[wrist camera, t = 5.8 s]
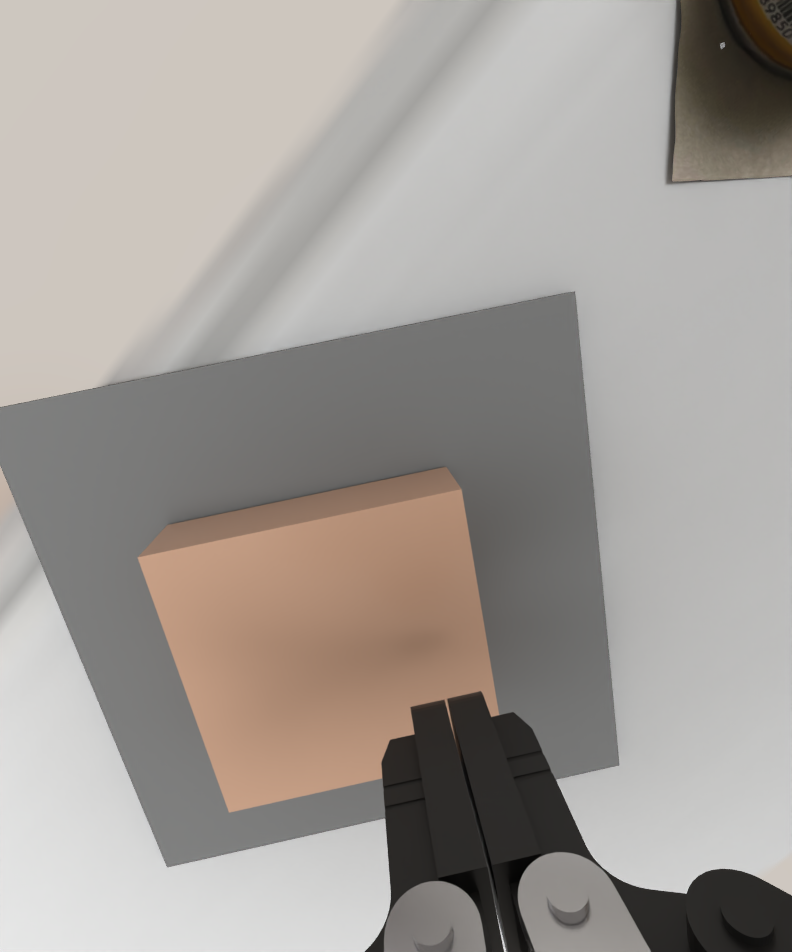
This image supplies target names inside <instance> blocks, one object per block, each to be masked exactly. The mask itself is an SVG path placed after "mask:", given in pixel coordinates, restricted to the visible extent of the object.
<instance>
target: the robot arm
mask: <svg viewBox="0 0 792 952" xmlns="http://www.w3.org/2000/svg"><path fill="white" fill-rule="evenodd" d="M447 701H448V707H449V712H450V717H451V722H452V727H453V731H452V727H451V723H450V719H449V715H448V711H447V707H446V703H445V700H439V701H435V702H430V703H426V704H421V705H417V706H412V707H410V708H411V715H412V721H413V727H414V733H415V734H414V735H409V736H405V737H400V738H396V739H391V740H390V741H389V744H388V746H387V749H386V751H385V754H384V757H383V759H382V762H381V766H382V779H383V789H384V791H383V792H384V806H385V819H386V832H387V845H388V859H389V872H390V885H391V903H390V909H389V913H388V916H387V919H386V922H385V924H384V926H383V928H382V930H381V932H380V934H379V935H378V937H377V938H376V940H375V941H374V942H373V943H372V945H371V946H370V947H369V948H368V949H367V950H366V951H365V952H504V950H503V945H502V940H501V934H500V929H499V924H498V919H499V923H500V927H501V931H502V935H503V939H504V943H505V947H506V951H507V952H792V896H791V895H790V894H788V893H786V892H784V891H782V890H780V889H779V888H777V887H775V886H773V885H771V884H769V883H767V882H765V881H763V880H762V879H760V878H758V877H756V876H753V875H751V874H748V873H745V872H742V871H737V870H732V869H717V870H711V871H708V872H705V873H703V874H701V875H700V876H698V877H697V878H696V879H695V880H694V881H693V882H692V884H691V885H690V887H689V889H688V892H687V894H683V893H675V892H666V891H658V890H649V889H644V888H639V887H636V886H633V885H630V884H627V883H625V882H623V881H621V880H619V879H617V878H616V877H614V876H612V875H611V874H610V873H608V872H607V871H606V870H605V869H603V868H602V867H601V866H600V865H599V864H598V863H597V862H596V861H595V859H594V858H593V857H592V855H591V854H590V852H589V851H588V849H587V847H586V845H585V843H584V841H583V839H582V836H581V834H580V832H579V830H578V828H577V825H576V823H575V821H574V819H573V817H572V815H571V812H570V810H569V808H568V806H567V804H566V801H565V799H564V797H563V795H562V793H561V790H560V788H559V786H558V784H557V782H556V779H555V777H554V775H553V773H552V772H551V769H550V766H549V764H548V762H547V760H546V758H545V755H543V752H542V749H541V747H540V744H539V742H538V740H537V738H536V736H535V733H534V731H533V729H532V728H531V727H530V726H529V725H528V724H527V723H526V722H524V721H523V720H522V719H521V718H520V717H519V716H518V715H516V714H515V713H514V712H511V713H506V714H502V715H497V716H493V717H491V715H490V712H489V710H488V707H487V704H486V701H485V699H484V696H483V693H482V692H481V691H479V692H474V693H470V694H465V695H461V696H456V697H452V698H447ZM453 732H454V734H453ZM454 737H455V738H454ZM496 911H497V914H496ZM497 915H498V919H497Z"/></svg>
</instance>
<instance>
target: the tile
mask: <svg viewBox="0 0 792 952" xmlns="http://www.w3.org/2000/svg"><path fill="white" fill-rule="evenodd" d="M137 558H138V560H139V563H140V566H141V569H142V571H143V574H144V577H145V580H146V583H147V585H148V588H149V591H150V594H151V597H152V599H153V602H154V605H155V608H156V610H157V613H158V616H159V619H160V622H161V624H162V627H163V630H164V633H165V636H166V638H167V641H168V644H169V647H170V649H171V652H172V655H173V658H174V661H175V663H176V666H177V669H178V672H179V675H180V677H181V680H182V683H183V686H184V689H185V691H186V694H187V697H188V700H189V702H190V705H191V708H192V711H193V714H194V716H195V719H196V722H197V725H198V728H199V730H200V733H201V736H202V739H203V741H204V744H205V747H206V750H207V753H208V755H209V758H210V761H211V764H212V767H213V769H214V772H215V775H216V778H217V781H218V783H219V786H220V789H221V792H222V794H223V797H224V800H225V803H226V806H227V808H228V811H229V813H230V812H234V811H239V810H243V809H248V808H252V807H257V806H261V805H266V804H270V803H274V802H279V801H283V800H288V799H292V798H297V797H301V796H306V795H310V794H315V793H319V792H324V791H328V790H332V789H337V788H341V787H346V786H350V785H355V784H359V783H364V782H368V781H373V780H377V779H382V766H381V762H382V759H383V757H384V754H385V751H386V749H387V746H388V744H389V741H390V740H391V739H396V738H400V737H405V736H409V735H414V734H415V733H414V727H413V721H412V715H411V708H410V707H412V706H417V705H421V704H426V703H430V702H435V701H439V700H445V703H446V707H447V711H448V715H449V719H450V723H451V727H452V722H451V717H450V712H449V707H448V701H447V698H452V697H456V696H461V695H465V694H470V693H474V692H479V691H481V692H482V693H483V696H484V699H485V701H486V704H487V707H488V710H489V712H490V715H491V717H493V716H497V715H499V711H498V705H497V699H496V693H495V687H494V681H493V675H492V669H491V663H490V657H489V651H488V645H487V639H486V633H485V627H484V621H483V615H482V609H481V603H480V597H479V591H478V585H477V579H476V573H475V567H474V561H473V555H472V549H471V543H470V537H469V531H468V525H467V519H466V513H465V507H464V501H463V495H462V489H461V488H460V486H459V485H458V483H457V482H456V480H455V479H454V477H453V476H452V474H451V473H450V471H449V470H448V469H447V467H442V468H437V469H433V470H428V471H423V472H418V473H414V474H409V475H404V476H399V477H394V478H390V479H385V480H380V481H375V482H370V483H366V484H361V485H356V486H351V487H347V488H342V489H337V490H332V491H327V492H323V493H318V494H313V495H308V496H304V497H299V498H294V499H289V500H284V501H280V502H275V503H270V504H265V505H261V506H256V507H251V508H246V509H241V510H237V511H232V512H227V513H222V514H218V515H213V516H208V517H203V518H198V519H194V520H189V521H184V522H179V523H175V524H170V525H167V526H166V527H165V528H164V529H163V530H162V531H161V532H160V533H159V534H158V536H157V537H156V538H155V539H154V540H153V541H152V542H151V543H150V544H149V545H148V547H147V548H146V549H145V550H144V551H143V552H142V553H141V554H140V555H139V556H138V557H137ZM452 731H453V727H452ZM453 734H454V732H453ZM454 738H455V737H454Z"/></svg>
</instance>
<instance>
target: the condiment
mask: <svg viewBox="0 0 792 952" xmlns="http://www.w3.org/2000/svg"><path fill="white" fill-rule="evenodd" d="M680 4H681V35H680V41H679V48H678V70H677V79H676V91H675V147H674V158H673V175H672V181H696V180H703V181H709V180H724V179H743V178H765V177H781V176H792V0H680ZM723 42H725V47H724V48H723V49H721V48H720V43H723Z"/></svg>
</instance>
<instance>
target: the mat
mask: <svg viewBox="0 0 792 952" xmlns="http://www.w3.org/2000/svg"><path fill="white" fill-rule="evenodd" d="M0 466H1V468H2V471H3V473H4V476H5V478H6V480H7V483H8V485H9V488H10V490H11V492H12V495H13V497H14V500H15V502H16V504H17V507H18V509H19V512H20V514H21V516H22V519H23V521H24V524H25V526H26V529H27V531H28V533H29V536H30V538H31V541H32V543H33V545H34V548H35V550H36V553H37V555H38V557H39V560H40V562H41V565H42V567H43V569H44V572H45V574H46V577H47V579H48V581H49V584H50V586H51V589H52V591H53V594H54V596H55V598H56V601H57V603H58V606H59V608H60V610H61V613H62V615H63V618H64V620H65V622H66V625H67V627H68V630H69V632H70V634H71V637H72V639H73V642H74V644H75V646H76V649H77V651H78V654H79V656H80V659H81V661H82V663H83V666H84V668H85V671H86V673H87V675H88V678H89V680H90V683H91V685H92V687H93V690H94V692H95V695H96V697H97V699H98V702H99V704H100V707H101V709H102V711H103V714H104V716H105V719H106V721H107V724H108V726H109V728H110V731H111V733H112V736H113V738H114V740H115V743H116V745H117V748H118V750H119V752H120V755H121V757H122V760H123V762H124V764H125V767H126V769H127V772H128V774H129V776H130V779H131V781H132V784H133V786H134V789H135V791H136V793H137V796H138V798H139V801H140V803H141V805H142V808H143V810H144V813H145V815H146V817H147V820H148V822H149V825H150V827H151V829H152V832H153V834H154V837H155V839H156V841H157V844H158V846H159V849H160V851H161V854H162V856H163V858H164V861H165V863H166V866H167V867H171V866H176V865H180V864H184V863H189V862H193V861H198V860H202V859H206V858H211V857H215V856H220V855H224V854H229V853H233V852H237V851H242V850H246V849H251V848H255V847H260V846H264V845H268V844H273V843H277V842H282V841H286V840H291V839H295V838H299V837H304V836H308V835H313V834H317V833H322V832H326V831H330V830H335V829H339V828H344V827H348V826H352V825H357V824H361V823H366V822H370V821H375V820H379V819H383V818H385V806H384V792H383V791H384V789H383V779H377V780H373V781H368V782H364V783H359V784H355V785H350V786H346V787H341V788H337V789H332V790H328V791H324V792H319V793H315V794H310V795H306V796H301V797H297V798H292V799H288V800H283V801H279V802H274V803H270V804H266V805H261V806H257V807H252V808H248V809H243V810H239V811H234V812H230V813H229V811H228V808H227V806H226V803H225V800H224V797H223V794H222V792H221V789H220V786H219V783H218V781H217V778H216V775H215V772H214V769H213V767H212V764H211V761H210V758H209V755H208V753H207V750H206V747H205V744H204V741H203V739H202V736H201V733H200V730H199V728H198V725H197V722H196V719H195V716H194V714H193V711H192V708H191V705H190V702H189V700H188V697H187V694H186V691H185V689H184V686H183V683H182V680H181V677H180V675H179V672H178V669H177V666H176V663H175V661H174V658H173V655H172V652H171V649H170V647H169V644H168V641H167V638H166V636H165V633H164V630H163V627H162V624H161V622H160V619H159V616H158V613H157V610H156V608H155V605H154V602H153V599H152V597H151V594H150V591H149V588H148V585H147V583H146V580H145V577H144V574H143V571H142V569H141V566H140V563H139V560H138V558H137V557H138V556H139V555H140V554H141V553H142V552H143V551H144V550H145V549H146V548H147V547H148V545H149V544H150V543H151V542H152V541H153V540H154V539H155V538H156V537H157V536H158V534H159V533H160V532H161V531H162V530H163V529H164V528H165V527H166V526H167V525H170V524H175V523H179V522H184V521H189V520H194V519H198V518H203V517H208V516H213V515H218V514H222V513H227V512H232V511H237V510H241V509H246V508H251V507H256V506H261V505H265V504H270V503H275V502H280V501H284V500H289V499H294V498H299V497H304V496H308V495H313V494H318V493H323V492H327V491H332V490H337V489H342V488H347V487H351V486H356V485H361V484H366V483H370V482H375V481H380V480H385V479H390V478H394V477H399V476H404V475H409V474H414V473H418V472H423V471H428V470H433V469H437V468H442V467H447V469H448V470H449V471H450V473H451V474H452V476H453V477H454V479H455V480H456V482H457V483H458V485H459V486H460V488H461V489H462V495H463V501H464V507H465V513H466V519H467V525H468V531H469V537H470V543H471V549H472V555H473V561H474V567H475V573H476V579H477V585H478V591H479V597H480V603H481V609H482V615H483V621H484V627H485V633H486V639H487V645H488V651H489V657H490V663H491V669H492V675H493V681H494V687H495V693H496V699H497V705H498V711H499V715H502V714H506V713H511V712H514V713H515V714H516V715H518V716H519V717H520V718H521V719H522V720H523V721H524V722H526V723H527V724H528V725H529V726H530V727H531V728H532V729H533V731H534V733H535V736H536V738H537V740H538V742H539V744H540V747H541V749H542V752H543V755H545V758H546V760H547V762H548V764H549V766H550V769H551V772H552V773H553V775H554V777H555V779H560V778H565V777H569V776H574V775H578V774H583V773H587V772H591V771H596V770H600V769H605V768H609V767H614V766H618V765H619V756H618V745H617V734H616V724H615V713H614V702H613V692H612V681H611V670H610V660H609V649H608V638H607V628H606V617H605V606H604V596H603V585H602V574H601V564H600V553H599V542H598V532H597V521H596V510H595V500H594V489H593V478H592V468H591V457H590V446H589V436H588V425H587V414H586V404H585V393H584V383H583V372H582V361H581V351H580V340H579V329H578V319H577V308H576V297H575V292H569V293H564V294H559V295H554V296H549V297H544V298H539V299H534V300H529V301H525V302H520V303H515V304H510V305H505V306H500V307H495V308H490V309H485V310H480V311H475V312H470V313H465V314H460V315H455V316H450V317H445V318H440V319H435V320H430V321H425V322H420V323H416V324H411V325H406V326H401V327H396V328H391V329H386V330H381V331H376V332H371V333H366V334H361V335H356V336H351V337H346V338H341V339H336V340H331V341H326V342H321V343H316V344H311V345H306V346H302V347H297V348H292V349H287V350H282V351H277V352H272V353H267V354H262V355H257V356H252V357H247V358H242V359H237V360H232V361H227V362H222V363H217V364H212V365H207V366H202V367H197V368H193V369H188V370H183V371H178V372H173V373H168V374H163V375H158V376H153V377H148V378H143V379H138V380H133V381H128V382H123V383H118V384H113V385H108V386H103V387H98V388H93V389H88V390H83V391H79V392H74V393H69V394H64V395H59V396H54V397H49V398H44V399H39V400H35V401H30V402H24V403H19V404H15V405H9V406H4V407H0Z"/></svg>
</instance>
